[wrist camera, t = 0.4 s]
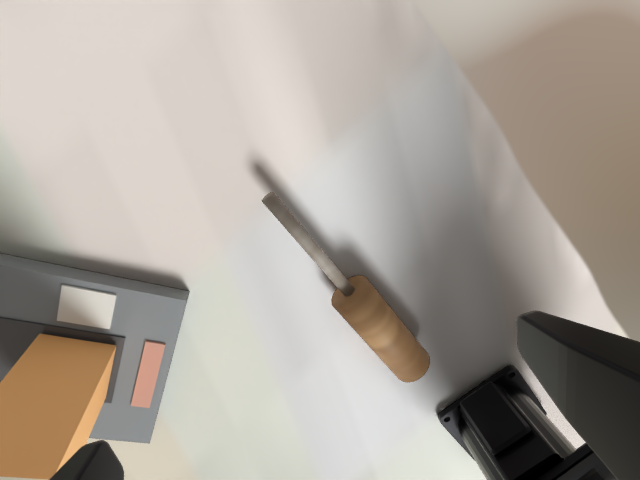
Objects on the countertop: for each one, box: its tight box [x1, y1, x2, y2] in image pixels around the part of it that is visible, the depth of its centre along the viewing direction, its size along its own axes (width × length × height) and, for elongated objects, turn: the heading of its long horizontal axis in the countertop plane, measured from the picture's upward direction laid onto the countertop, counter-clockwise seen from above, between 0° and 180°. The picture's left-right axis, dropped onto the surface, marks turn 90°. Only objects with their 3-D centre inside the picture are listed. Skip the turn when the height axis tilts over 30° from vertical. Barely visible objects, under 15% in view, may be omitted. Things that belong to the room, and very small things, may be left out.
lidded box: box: [0, 334, 117, 480], centre depth 16 cm, size 4×4×8 cm
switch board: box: [0, 253, 189, 443], centre depth 20 cm, size 14×10×1 cm
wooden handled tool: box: [262, 192, 430, 382], centre depth 21 cm, size 14×2×2 cm, turn 37°
